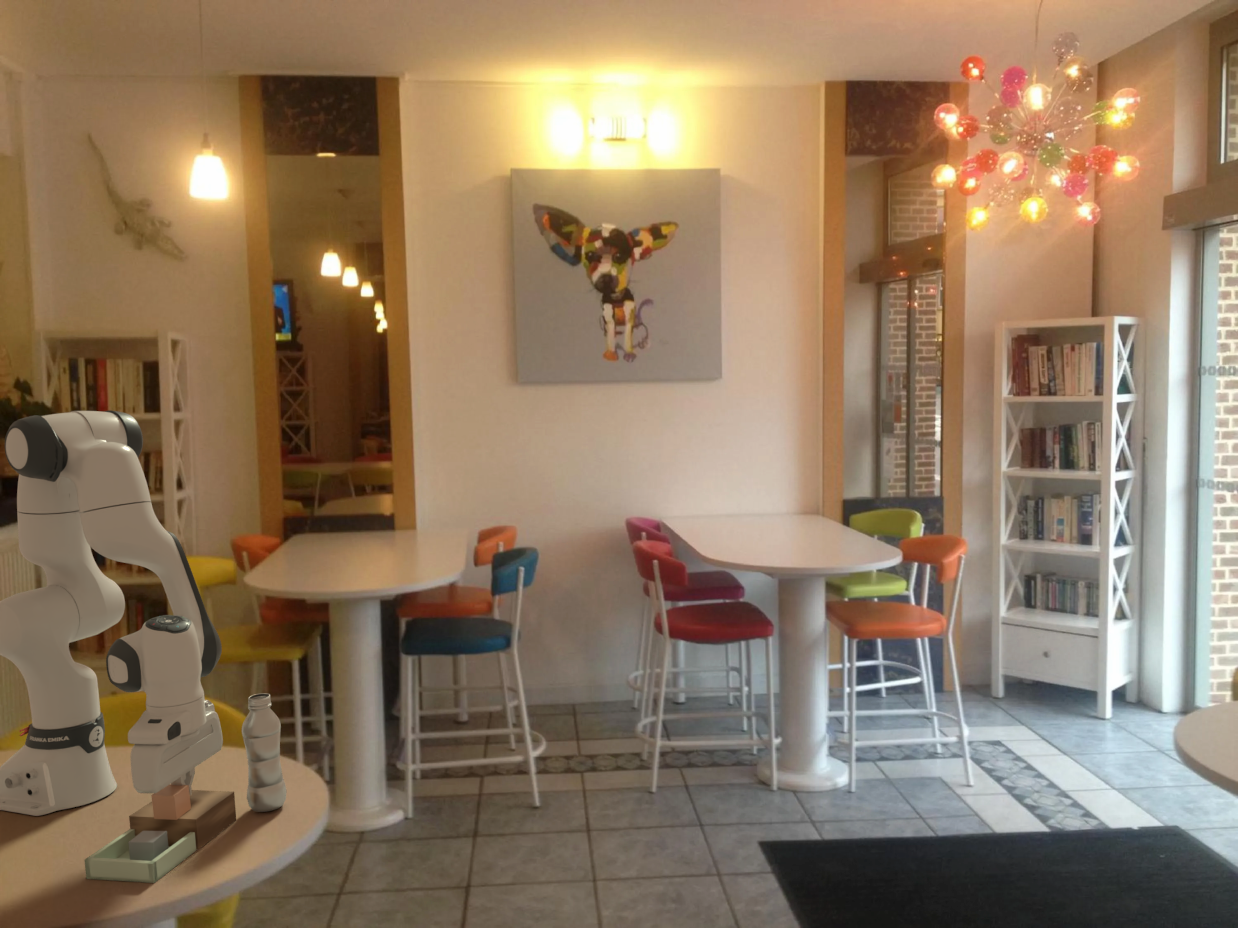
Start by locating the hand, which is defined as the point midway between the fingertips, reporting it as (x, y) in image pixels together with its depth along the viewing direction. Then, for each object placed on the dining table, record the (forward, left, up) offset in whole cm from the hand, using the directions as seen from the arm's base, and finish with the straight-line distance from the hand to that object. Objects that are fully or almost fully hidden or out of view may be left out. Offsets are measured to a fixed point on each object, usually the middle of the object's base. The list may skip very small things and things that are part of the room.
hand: (184, 797), depth 175 cm
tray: (-1, -10, -6) cm, 12 cm away
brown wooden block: (-1, +1, -6) cm, 6 cm away
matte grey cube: (0, -8, -4) cm, 9 cm away
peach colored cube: (0, -3, -1) cm, 3 cm away
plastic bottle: (+8, +11, -7) cm, 15 cm away
